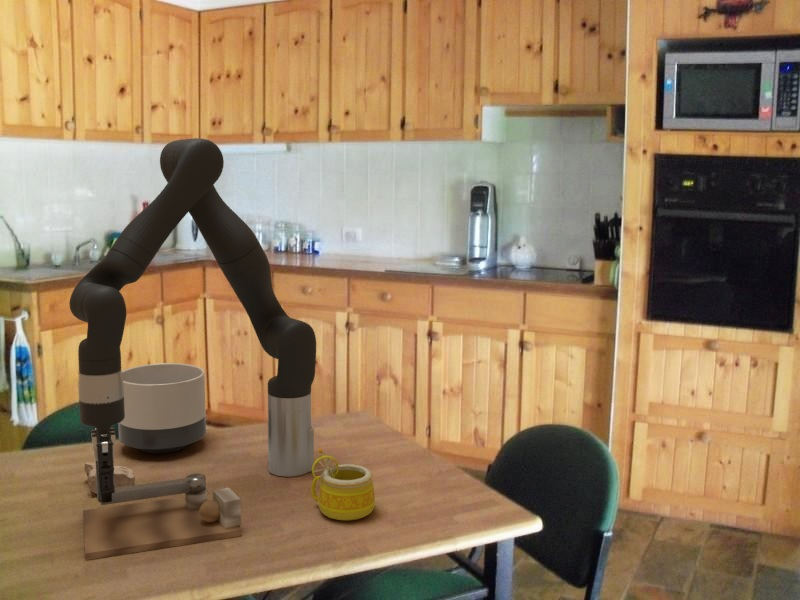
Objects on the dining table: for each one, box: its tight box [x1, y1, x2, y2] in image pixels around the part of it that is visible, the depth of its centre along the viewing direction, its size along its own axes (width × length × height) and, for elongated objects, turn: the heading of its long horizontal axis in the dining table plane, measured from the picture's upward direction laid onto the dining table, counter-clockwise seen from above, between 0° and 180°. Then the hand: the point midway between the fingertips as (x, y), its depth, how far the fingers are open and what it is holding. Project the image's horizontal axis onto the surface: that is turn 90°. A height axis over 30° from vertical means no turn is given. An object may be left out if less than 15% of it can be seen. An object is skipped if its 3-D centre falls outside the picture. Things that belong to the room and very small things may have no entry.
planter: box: [118, 362, 207, 455], centre depth 186 cm, size 19×19×18 cm
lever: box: [95, 460, 207, 506], centre depth 149 cm, size 19×4×8 cm, turn 114°
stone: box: [84, 461, 136, 495], centre depth 165 cm, size 9×11×5 cm
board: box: [82, 487, 243, 561], centre depth 147 cm, size 26×18×6 cm
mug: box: [310, 448, 376, 522], centre depth 154 cm, size 13×11×12 cm
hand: (105, 484), depth 146 cm, fingers open, 6 cm apart
